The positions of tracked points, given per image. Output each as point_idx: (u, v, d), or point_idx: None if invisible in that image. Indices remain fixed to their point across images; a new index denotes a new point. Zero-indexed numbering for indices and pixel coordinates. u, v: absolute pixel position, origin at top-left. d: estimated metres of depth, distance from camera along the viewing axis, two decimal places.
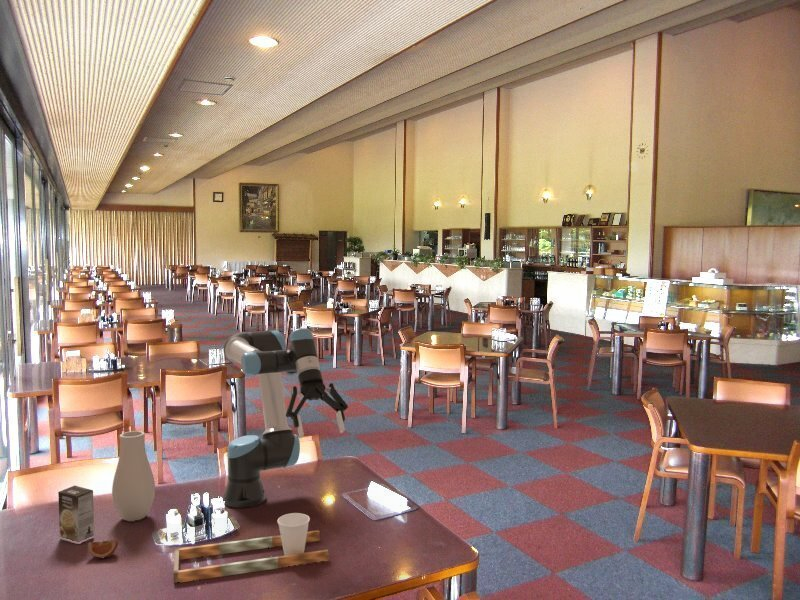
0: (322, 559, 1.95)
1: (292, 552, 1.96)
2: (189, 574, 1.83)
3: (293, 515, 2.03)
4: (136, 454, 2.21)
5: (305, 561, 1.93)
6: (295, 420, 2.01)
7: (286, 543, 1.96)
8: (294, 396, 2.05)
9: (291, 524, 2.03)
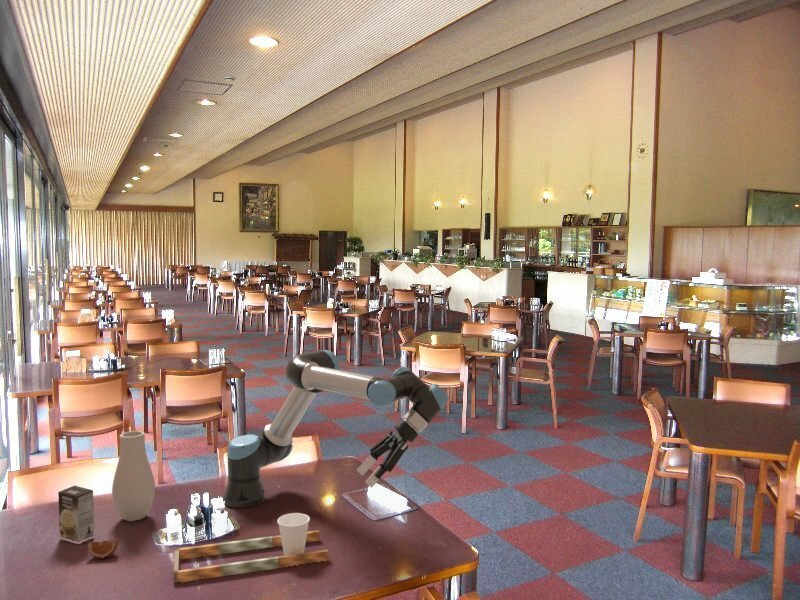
0: (322, 559, 1.95)
1: (292, 552, 1.96)
2: (189, 574, 1.83)
3: (293, 515, 2.03)
4: (136, 454, 2.21)
5: (305, 561, 1.93)
6: None
7: (286, 543, 1.96)
8: None
9: (291, 524, 2.03)
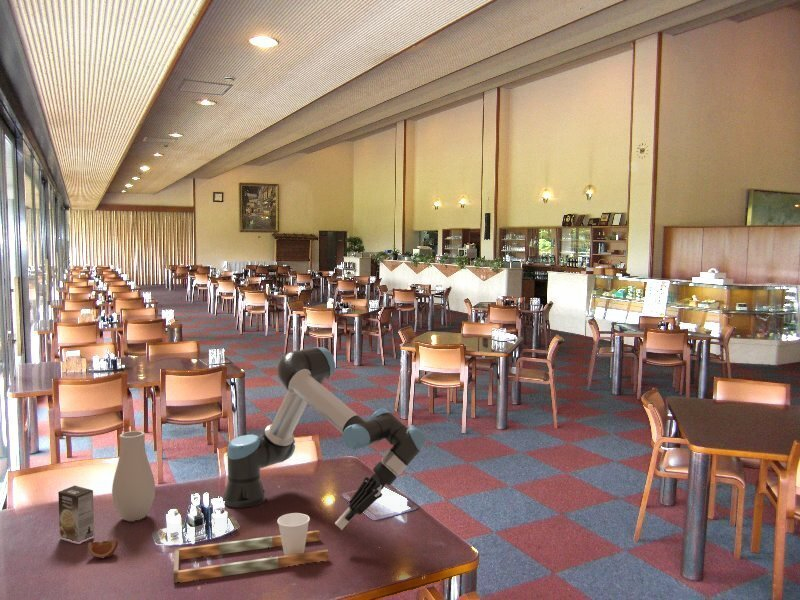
0: (322, 559, 1.95)
1: (292, 552, 1.96)
2: (189, 574, 1.83)
3: (293, 515, 2.03)
4: (136, 454, 2.21)
5: (305, 561, 1.93)
6: None
7: (286, 543, 1.96)
8: None
9: (291, 524, 2.03)
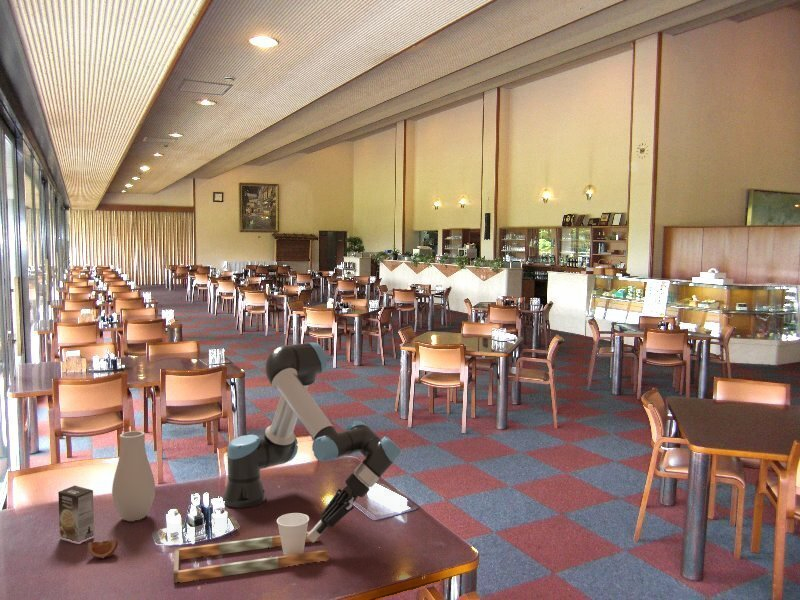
0: (322, 559, 1.95)
1: (292, 552, 1.96)
2: (189, 574, 1.83)
3: (292, 515, 2.03)
4: (136, 454, 2.21)
5: (305, 561, 1.93)
6: None
7: (286, 543, 1.96)
8: None
9: (290, 524, 2.03)
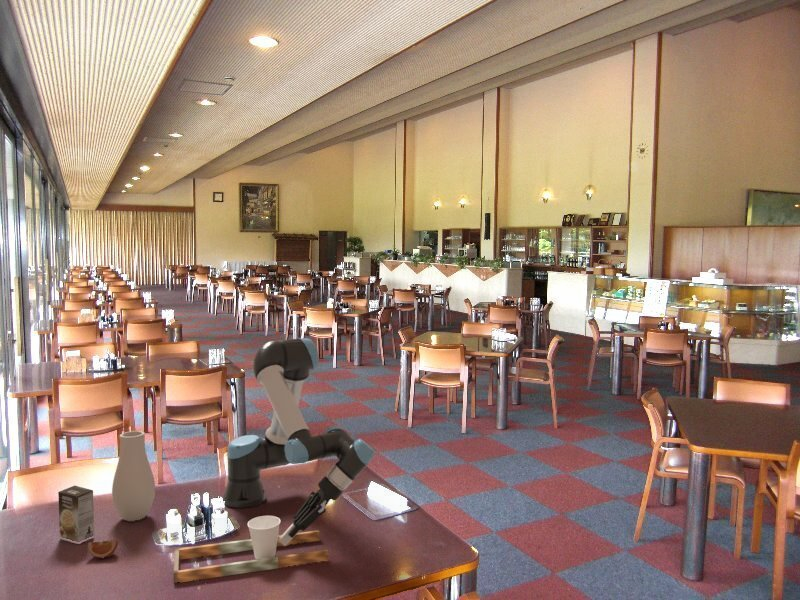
0: (322, 559, 1.95)
1: (261, 555, 1.94)
2: (189, 574, 1.83)
3: (266, 517, 2.01)
4: (136, 454, 2.21)
5: (305, 561, 1.93)
6: None
7: (255, 546, 1.94)
8: None
9: (264, 527, 2.01)
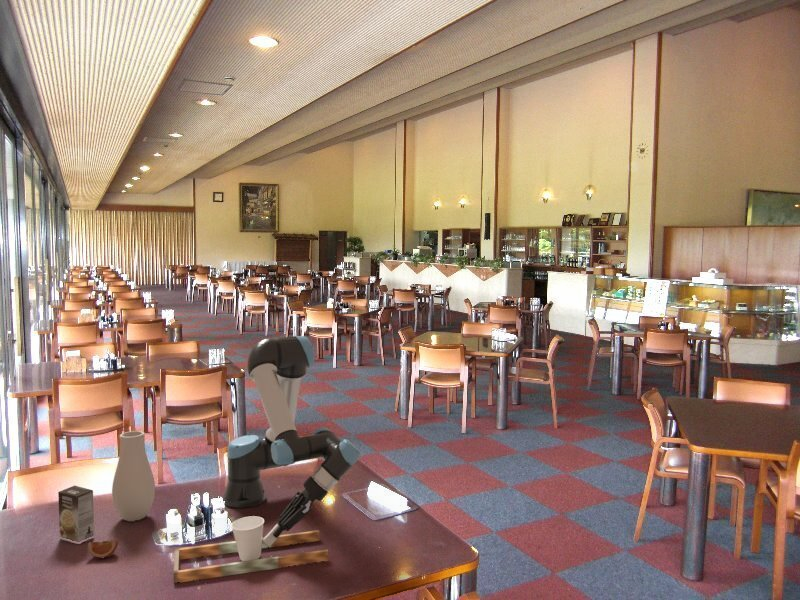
0: (322, 559, 1.95)
1: (246, 556, 1.93)
2: (189, 574, 1.83)
3: (250, 518, 2.00)
4: (136, 454, 2.21)
5: (305, 561, 1.93)
6: None
7: (240, 547, 1.93)
8: None
9: (248, 527, 2.00)
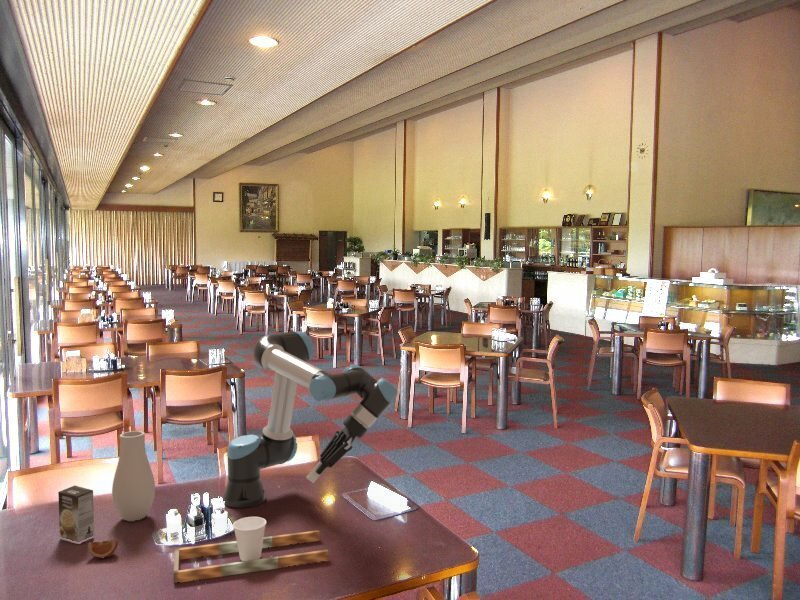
0: (322, 559, 1.95)
1: (247, 556, 1.93)
2: (189, 574, 1.83)
3: (251, 518, 2.01)
4: (136, 454, 2.21)
5: (305, 561, 1.93)
6: None
7: (241, 547, 1.93)
8: None
9: (250, 528, 2.00)
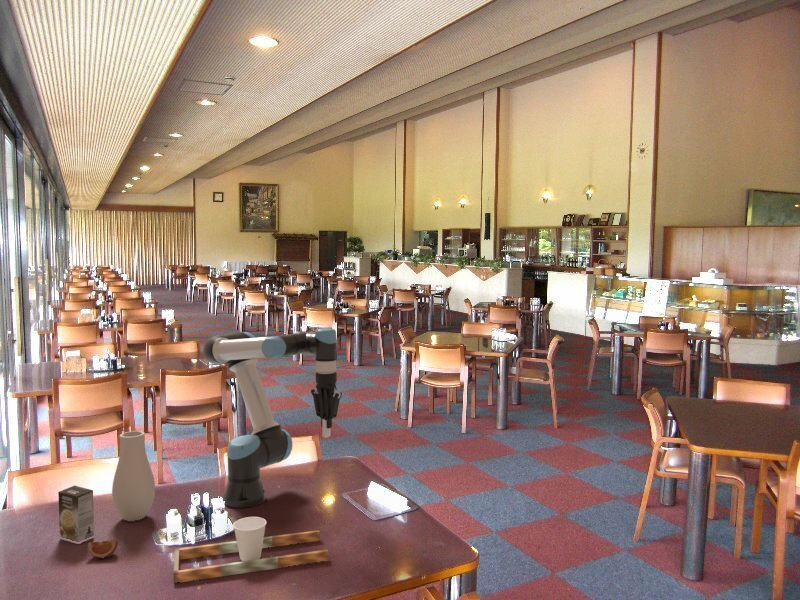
0: (322, 559, 1.95)
1: (247, 557, 1.93)
2: (189, 574, 1.83)
3: (252, 518, 2.01)
4: (136, 454, 2.21)
5: (305, 561, 1.93)
6: None
7: (241, 547, 1.93)
8: None
9: (250, 528, 2.00)
